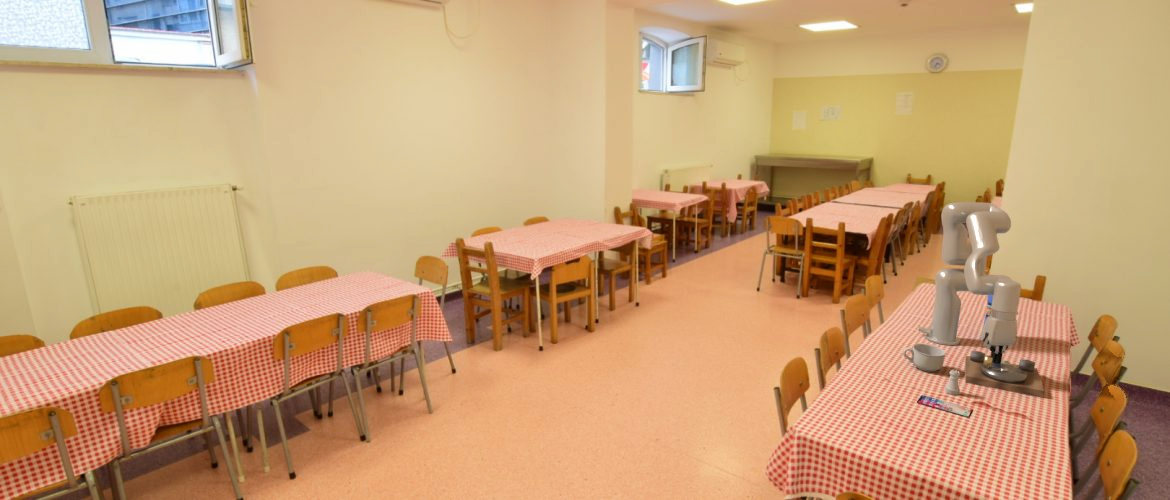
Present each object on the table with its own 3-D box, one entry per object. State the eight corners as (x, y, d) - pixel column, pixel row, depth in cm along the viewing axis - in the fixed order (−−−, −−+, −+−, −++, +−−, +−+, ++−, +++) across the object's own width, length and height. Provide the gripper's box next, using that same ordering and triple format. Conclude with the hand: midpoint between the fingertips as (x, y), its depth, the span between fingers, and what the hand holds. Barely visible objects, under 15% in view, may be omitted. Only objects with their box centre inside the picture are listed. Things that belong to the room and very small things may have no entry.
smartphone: (969, 417, 179) (915, 402, 189) (969, 419, 180) (915, 404, 189) (973, 408, 185) (921, 394, 195) (973, 410, 185) (921, 396, 195)
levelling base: (965, 382, 205) (967, 368, 203) (965, 361, 223) (967, 348, 221) (1043, 397, 193) (1045, 382, 192) (1035, 374, 211) (1038, 360, 210)
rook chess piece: (954, 396, 194) (958, 374, 192) (941, 391, 198) (944, 369, 196) (962, 393, 196) (965, 372, 194) (949, 388, 200) (952, 367, 198)
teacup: (940, 365, 219) (943, 346, 217) (944, 376, 209) (947, 356, 208) (899, 359, 225) (902, 340, 223) (901, 370, 215) (904, 350, 213)
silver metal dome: (981, 377, 202) (984, 362, 201) (980, 365, 213) (983, 350, 211) (1027, 386, 195) (1030, 370, 194) (1024, 373, 206) (1026, 357, 205)
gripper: (1013, 310, 208) (1005, 357, 212) (975, 311, 207) (968, 359, 211) (1031, 317, 201) (1022, 366, 205) (992, 318, 200) (984, 367, 203)
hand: (995, 362), depth 208 cm, fingers closed
